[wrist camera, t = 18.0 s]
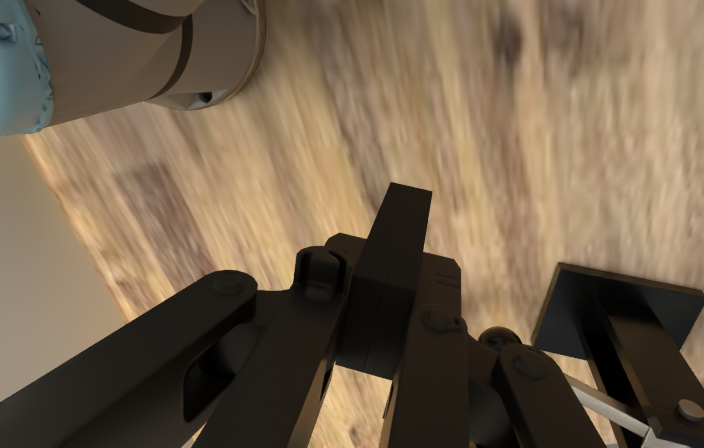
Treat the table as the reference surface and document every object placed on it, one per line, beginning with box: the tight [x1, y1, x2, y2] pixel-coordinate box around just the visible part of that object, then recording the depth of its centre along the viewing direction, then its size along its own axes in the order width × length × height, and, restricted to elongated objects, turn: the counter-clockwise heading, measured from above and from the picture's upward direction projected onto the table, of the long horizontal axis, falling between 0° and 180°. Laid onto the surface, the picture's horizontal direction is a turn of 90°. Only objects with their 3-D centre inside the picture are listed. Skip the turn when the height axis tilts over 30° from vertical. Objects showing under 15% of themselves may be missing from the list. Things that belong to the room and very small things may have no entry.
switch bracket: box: [531, 263, 704, 448], centre depth 35 cm, size 12×9×16 cm
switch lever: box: [477, 326, 694, 448], centre depth 33 cm, size 15×4×4 cm, turn 85°
